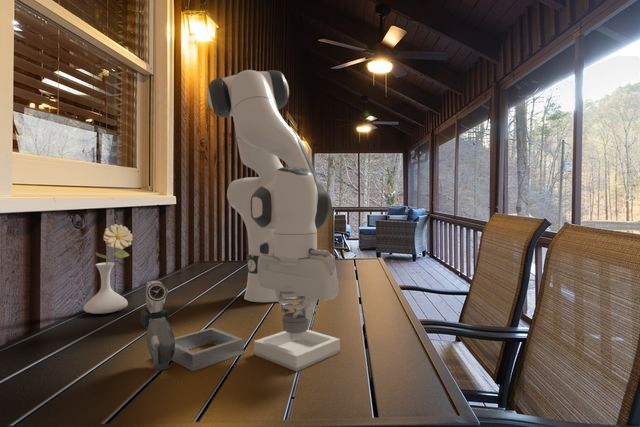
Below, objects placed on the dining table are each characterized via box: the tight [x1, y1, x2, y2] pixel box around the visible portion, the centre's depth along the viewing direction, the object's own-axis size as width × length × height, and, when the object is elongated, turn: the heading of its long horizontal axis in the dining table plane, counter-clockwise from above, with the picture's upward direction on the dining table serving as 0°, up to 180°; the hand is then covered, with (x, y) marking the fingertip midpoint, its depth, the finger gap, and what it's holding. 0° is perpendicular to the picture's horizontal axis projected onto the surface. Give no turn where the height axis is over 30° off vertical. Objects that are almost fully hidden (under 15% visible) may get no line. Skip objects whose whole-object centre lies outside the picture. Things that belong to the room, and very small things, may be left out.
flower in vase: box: [82, 223, 133, 315], centre depth 116 cm, size 13×11×25 cm
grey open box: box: [146, 318, 245, 372], centre depth 80 cm, size 16×12×9 cm
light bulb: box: [282, 288, 310, 341], centre depth 82 cm, size 6×6×12 cm
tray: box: [253, 329, 341, 372], centre depth 82 cm, size 12×12×3 cm
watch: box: [140, 280, 169, 329], centre depth 103 cm, size 6×8×11 cm
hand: (295, 314), depth 82 cm, fingers closed on light bulb, 5 cm apart
